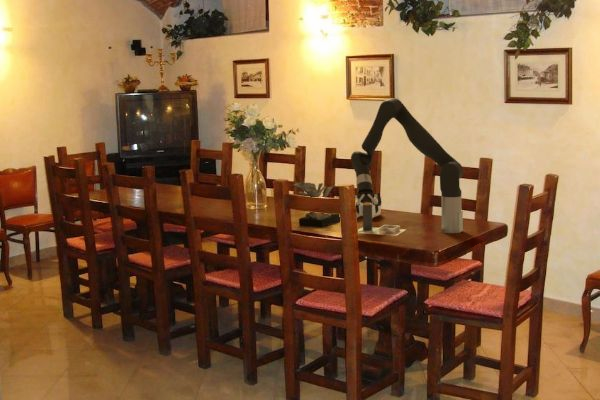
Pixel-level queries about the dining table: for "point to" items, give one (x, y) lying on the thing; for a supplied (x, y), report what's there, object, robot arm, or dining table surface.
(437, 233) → the dining table surface
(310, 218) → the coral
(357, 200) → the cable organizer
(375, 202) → the robot arm
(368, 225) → the dark grey cylinder
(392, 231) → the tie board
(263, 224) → the dining table surface
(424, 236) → the dining table surface
